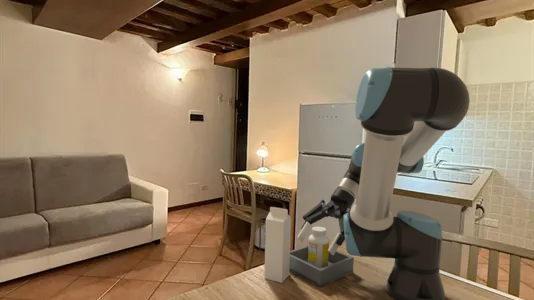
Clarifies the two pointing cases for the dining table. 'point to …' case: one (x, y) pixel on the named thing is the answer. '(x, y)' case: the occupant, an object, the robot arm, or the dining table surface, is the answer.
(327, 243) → the supplement bottle
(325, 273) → the open box
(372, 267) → the dining table surface
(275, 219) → the milk
